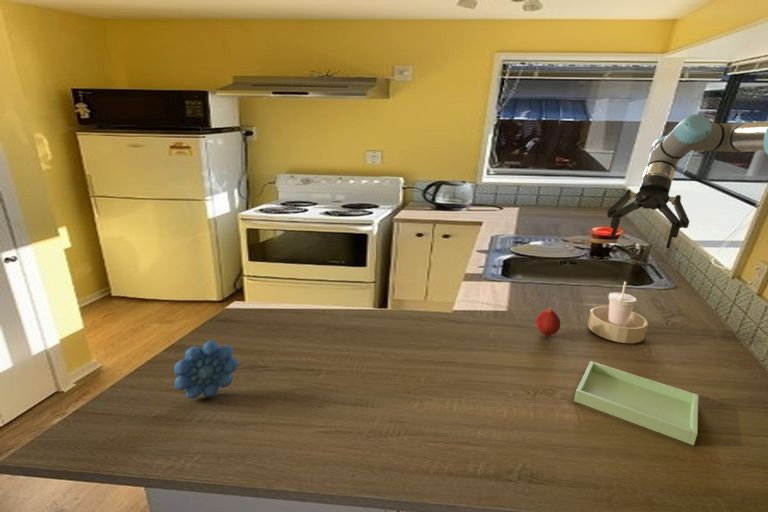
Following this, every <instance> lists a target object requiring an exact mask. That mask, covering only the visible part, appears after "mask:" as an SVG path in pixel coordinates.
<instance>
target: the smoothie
mask: <svg viewBox="0 0 768 512" xmlns="http://www.w3.org/2000/svg"><path fill="white" fill-rule="evenodd" d="M627 283H628V282H627V281H623V287H622V290H621V292H610V293H609V294H608V297H607V298H608V300H609V301H608V306H609V315H608V323H609V324H612V325H616V326H621V327H626V324H627V322H628V319H629V317H630V314H631V312H632V311H633V309H634V307H635V305H637V301H638V300H637V298H636V297H635V296H634V295H631V294H629V293H625V292H626V288H627Z"/></svg>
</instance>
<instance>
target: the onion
mask: <svg viewBox="0 0 768 512" xmlns="http://www.w3.org/2000/svg"><path fill="white" fill-rule="evenodd" d="M535 327H536V330H538V331H539V332H540V334H541V335H542V336H543V337H547V338H548V337H550V336H554V335H555V334H556V333H557V332H558V331H559V330H560V328H561V320H560V317H559V315H558V314H557V313H556V312H555V311H554V309H552V308H551V307H548V308H546V310H543V311H541V312H540V313H539V314H538V316H537V317H536V320H535Z"/></svg>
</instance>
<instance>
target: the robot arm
mask: <svg viewBox="0 0 768 512" xmlns="http://www.w3.org/2000/svg"><path fill="white" fill-rule="evenodd" d="M691 151H692V152H693V151H696V152H697V151H698V152H724V153H725V152H729V153H731V152H732V153H745V152H765V154H766V155H767V156H768V120H765V121H755V122H742V123H741V122H740V123H739V122H738V123H717V122H714V123H713V122H711V120H710V119H709V118H707V117H706V116H702V115H701V114H690V115H688V116H686V117H684V119H683V120H681V121H680V122H678V123H677V124H676V125H675V127H674V128H673V129H672V130H671V131H670V132H669V133H668V134H666V135H663V136H661V137H658V138H657V139H656V140H654V142H653V144H652V146H651V148H650V151H649V156H648V159H647V163H646V167H645V169H644V172H643V175H642V180H641V182H640V187H639V190H638V191H637V192H634V191H633V192H632V190H631V189H627V190H626V191H625V193H624V195H623V196H622V197H621V198H619V199H618V200H617V201H616V202H615V203H614V204H613V205H612V206H611V207H610V208H609V209H607V211H606V216H607V218H609V219H611V221H610V224H609V225H610V229H612V231H611V237H610V239H611V240H615V239H616V235H617V232H618V228H619V225H620V222H621V219H622V218H623V217H625V216H626V215H629V214H630V213H632V212H634V211H635V210H639V209H640V208H642V209H648V210H649V209H650V210H654V211H656V210H658V211H659V212H660V213H661V214H662V215H663V216H664V217H665V218H666V219H667V220H668V221H669V223H670V224H671V227H670V229H669V230H670V231H669V233H668V239H667V242H666V246H665V248H666V249H671V243H672V239H674V238H675V239H677V238H678V236H679V234H680V233H679V232H680V229H682V228H684V229H688V228H689V226H690V225H689V224H690V219H689V217H688V215H687V213H686V211H685V208H684V206H683V204H682V202H681V201H682V196H681V195H680V194H676V195H675V196H670V190H671V187H672V183H673V179H674V176H675V172H676V168H677V164H678V162H679V161H681V160H682V159H683V158H684V157H685V156H686V155H688V154H689V153H690V152H691ZM634 198H635V199H634ZM633 199H634V200H633ZM631 200H633V201H632V202H630V203H628V202H629V201H631ZM669 202H670V203H671V205H672V206H674V210H675V213H676V214H675V213H674V212H673V210H671V208H670V207H669V205H668V203H669ZM627 203H628V204H627Z"/></svg>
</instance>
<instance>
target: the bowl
mask: <svg viewBox="0 0 768 512" xmlns="http://www.w3.org/2000/svg"><path fill="white" fill-rule="evenodd" d="M608 315H609V305H599V306H594V307H592V308H591V309H590V312H589V315H588V316H589V317H588V321H587V327H588V329H589V330H590V331H591V332H592V333H594V334H595V335H597V336H598V337H601V338H603V339H606V340H609V341H613V342H616V343H620V344H621V343H622V344H638V343H641V342H642V341H644V340H645V337H646V332H647V329H648V325H649V321H648V320H647V319H646V318H645V317H644V316H642V315H641V314H639V313H637V312H635V311H633V310H632V312H631V314H630V317H629V319H628V322H627V324H626V327H621V326H616V325H612V324H609V323H608Z"/></svg>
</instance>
